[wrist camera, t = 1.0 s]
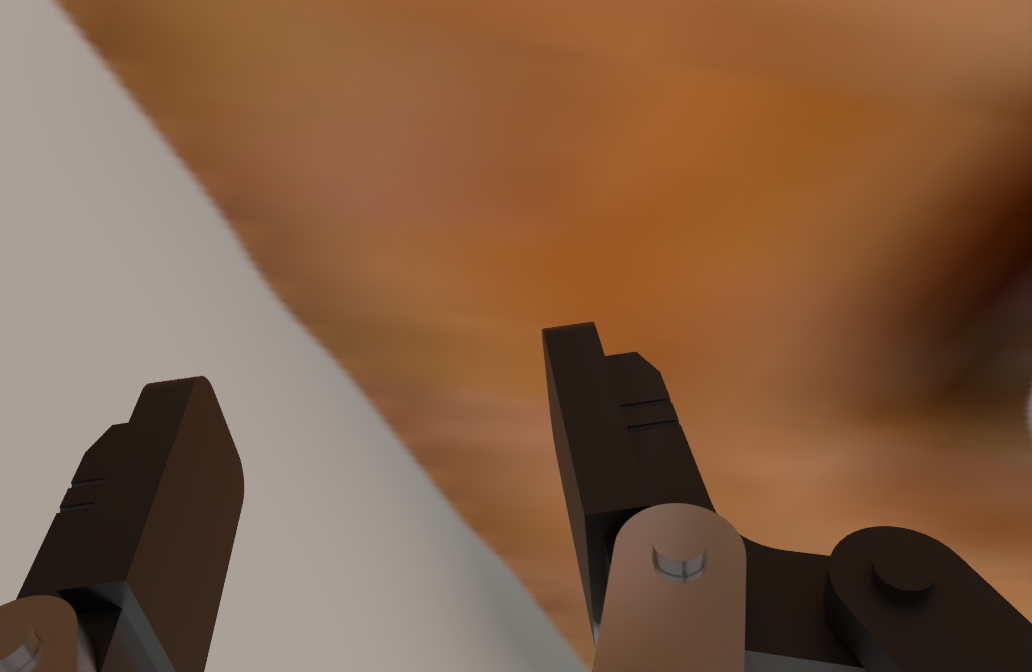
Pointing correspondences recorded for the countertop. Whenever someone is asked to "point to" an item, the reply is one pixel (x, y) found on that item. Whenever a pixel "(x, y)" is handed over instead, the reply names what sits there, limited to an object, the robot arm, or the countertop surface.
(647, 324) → the countertop surface
